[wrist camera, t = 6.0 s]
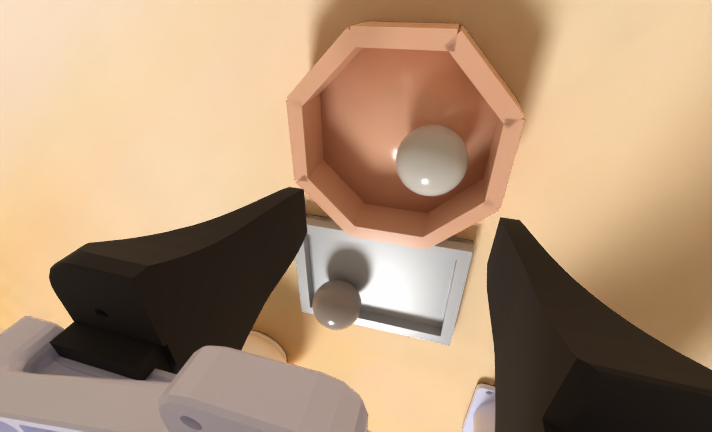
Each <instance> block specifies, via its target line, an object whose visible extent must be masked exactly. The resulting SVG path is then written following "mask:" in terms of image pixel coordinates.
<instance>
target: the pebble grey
mask: <svg viewBox="0 0 712 432" xmlns="http://www.w3.org/2000/svg"><path fill="white" fill-rule="evenodd" d="M467 167H468V151H467V147H466V145H465V143H464V141H463V140H462V138H461V137H460V136H459V135H458V134H457V133H456V132H455V131H454V130H452V129H450V128H448V127H446V126H443V125H438V124H429V125H424V126H420V127H418V128H416V129H414V130H412V131H411V132H410V133H409V134H407V135H406V136H405V138H404V139H403V140H402V142H401V143H400V145H399V147H398V150H397V154H396V169H397V173H398V175H399V178H400V179H401V181H402V182H403V184H404V185H405V186H406V187H407V188H408V189H410V190H411V191H413V192H415V193H417V194H420V195H423V196H438V195H442V194H445V193H447V192H449V191H451V190H452V189H454V188H455V187H456V186H457V185H458V184H459V183H460V182H461V180H462V179H463V177H464V175H465V173H466V171H467Z"/></svg>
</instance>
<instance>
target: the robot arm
mask: <svg viewBox="0 0 712 432" xmlns="http://www.w3.org/2000/svg"><path fill="white" fill-rule="evenodd" d="M306 235H307V221H306V210H305V199H304V189H299V188H292V187H288V188H285V189H282V190H280V191H278V192H275V193H273V194H271V195H269V196H267V197H264V198H262V199H260V200H258V201H256V202H254V203H251V204H249V205H247V206H245V207H242V208H240V209H237V210H235V211H233V212H230V213H228V214H225V215H223V216H220V217H217V218H215V219H212V220H209V221H206V222H202V223H199V224H196V225H193V226H189V227H185V228H181V229H177V230H173V231H169V232H164V233H159V234H154V235H149V236H143V237H137V238H130V239H123V240H113V241H104V242H94V243H87V244H85V245H84V246H82V247H80V248H79V249H77V250H76V251H74V252H73V253H71V254H70V255H68V256H67V257H65V258H63V259H62V260H60V261H59V262H57V263H56V264H54V265H53V266H52V267H51V268H50V274H49V279H50V283H51V286H52V288H53V289H54V291H55V293H56V295H57V296H58V298H59V299H60V301H61V302H62V304H63V305H64V307H65V308H66V310H67V311H68V313H69V314H70V316H71V317H72V319H73V321H75V322H73V323H72V324H71V325H70V326H69V327H67V328H66V329H65V330H64V329H63V328H62V327H60V326H59V325H57V324H55V323H52V322H49V321H45V320H42V319H39V318H35V317H32V316H25V317H23V318H22V319H20V320H19V321H18V322H16V323H15V324H13V325H12V326H11V327H9V328H8V329H7V330H5V331H4V332H2V333H1V334H0V432H371V431H369V430H368V429H367V427H368V413H367V411H366V408H365V406H364V403H363V400H362V399H361V397H360V395H358V394H357V393H356V392H355V391H354V390H353V389H352V388H350V387H349V386H348V385H347V384H346V383H345V382H343V381H341V380H339V379H336V378H334V377H332V376H329V375H327V374H325V373H322V372H319V371H315V370H311V369H307V368H304V367H300V366H296V365H293V364H289V363H285V362H281V361H278V360H274V359H270V358H266V357H263V356H259V355H255V354H252V353H248V352H244V351H241V350H242V348H243V346H244V344H245V342H246V339H247V337H248V335H249V333H250V331H251V329H252V327H253V325H254V323H255V321H256V319H257V317H258V315H259V313H260V311H261V310H262V308H263V306H264V304H265V302H266V301H267V299H268V297H269V296H270V294H271V292H272V291H273V290H274V288H275V287H276V285H277V284H278V282H279V281H280V279H281V278H282V276H283V275H284V273H285V272H286V270H287V269H288V267H289V266H290V264H291V263H292V261H293V260H294V258H295V257H296V255H297V253H298V252H299V250H300V248H301V246H302V244H303V241H304V239H305V237H306ZM487 293H488V302H489V310H490V318H491V325H492V333H493V341H494V352H495V386H491V385H487V384H478V385H477V387H476V389H475V392H474V395H473V398H472V401H471V404H470V407H469V409H468V412H467V415H466V418H465V421H464V424H463V427H462V432H712V370H710V369H709V368H707V367H705V366H703V365H701V364H699V363H697V362H695V361H694V360H692V359H690V358H688V357H686V356H684V355H682V354H680V353H679V352H677V351H675V350H673V349H672V348H670V347H668V346H667V345H665V344H663V343H662V342H660V341H658V340H657V339H655V338H653V337H652V336H650V335H648V334H647V333H645V332H644V331H642V330H640V329H639V328H637V327H636V326H634V325H633V324H631V323H630V322H628V321H627V320H625V319H624V318H623V317H621V316H620V315H618V314H617V313H616V312H614V311H613V310H611V309H610V308H608V307H607V306H606V305H605V304H603V303H602V302H601V301H599V300H598V299H597V298H595V297H594V296H593V295H592V294H591V293H589V292H588V291H587V290H586V289H585V288H583V287H582V286H581V285H580V284H579V283H578V282H576V281H575V280H574V279H573V278H572V277H571V276H570V275H569V274H568V273H567V272H566V271H565V270H564V269H563V268H562V267H561V266H560V265H559V264H558V263H557V262H556V261H555V260H554V259H553V258H552V257H551V256H550V255H549V254H548V253H547V252H546V250H545V249H544V248H543V247H542V246H541V245H540V244H539V242H538V241H537V240H536V239H535V238H534V237H533V235H532V234H531V233H530V232H529V231H528V229H527V228H526V227H525V226H524V225H523V223H522V222H521V221H520V220H515V219H508V218H501V217H500V221H499V224H498V228H497V231H496V235H495V238H494V242H493V245H492V249H491V253H490V256H489V260H488V263H487Z"/></svg>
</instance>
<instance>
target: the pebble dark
mask: <svg viewBox="0 0 712 432" xmlns="http://www.w3.org/2000/svg"><path fill="white" fill-rule="evenodd" d="M312 305H313V312H314V315H315V317H316V319H317V320H318V322H319V323H320V324H321V325H323V326H324V327H326V328H328V329H331V330H342V329H345V328H347V327H349V326H351V325H352V324H353V323H354V322H355V321H356V320H357V318H358V317H359V315H360V312H361V306H362V303H361V297H360V294H359V292H358V290H357V289H356V288H355V287H354V286H353V285H352V284H351V283H349V282H347V281H345V280H340V279H335V280H330V281H328V282H326V283H324V284H323V285H321V286H320V287H319V288H318V290H317V291H316V293H315V295H314V298H313V304H312Z"/></svg>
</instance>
